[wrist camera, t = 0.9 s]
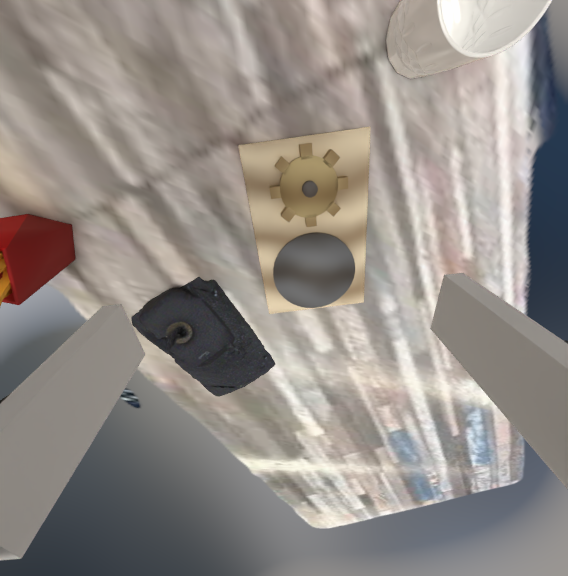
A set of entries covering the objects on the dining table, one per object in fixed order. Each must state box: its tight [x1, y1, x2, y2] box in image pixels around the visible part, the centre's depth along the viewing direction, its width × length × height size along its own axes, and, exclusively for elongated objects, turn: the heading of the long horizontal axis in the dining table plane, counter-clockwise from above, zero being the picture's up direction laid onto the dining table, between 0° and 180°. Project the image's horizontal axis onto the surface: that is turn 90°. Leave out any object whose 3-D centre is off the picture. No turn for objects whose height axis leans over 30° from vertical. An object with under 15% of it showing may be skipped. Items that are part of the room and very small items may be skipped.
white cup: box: [386, 0, 552, 79], centre depth 20 cm, size 8×8×10 cm
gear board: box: [238, 127, 370, 314], centre depth 32 cm, size 22×14×4 cm, turn 7°
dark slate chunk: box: [132, 277, 275, 396], centre depth 40 cm, size 15×22×5 cm
